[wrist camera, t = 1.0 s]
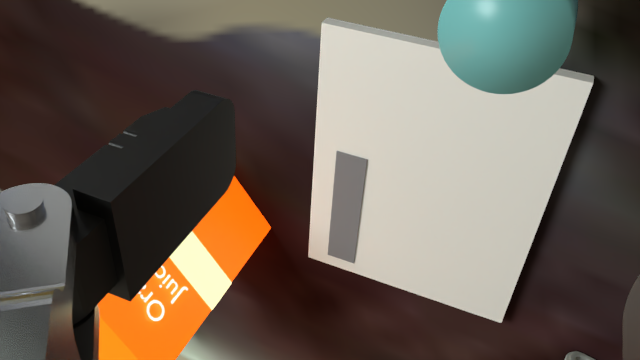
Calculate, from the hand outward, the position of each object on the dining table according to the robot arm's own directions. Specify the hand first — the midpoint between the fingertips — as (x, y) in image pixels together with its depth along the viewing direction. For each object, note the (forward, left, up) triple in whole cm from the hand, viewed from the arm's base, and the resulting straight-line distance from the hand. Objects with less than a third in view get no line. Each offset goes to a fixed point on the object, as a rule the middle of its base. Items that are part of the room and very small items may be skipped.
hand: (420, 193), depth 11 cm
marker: (0, 0, -20) cm, 20 cm away
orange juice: (+19, +22, -21) cm, 36 cm away
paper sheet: (+3, +15, -20) cm, 25 cm away
